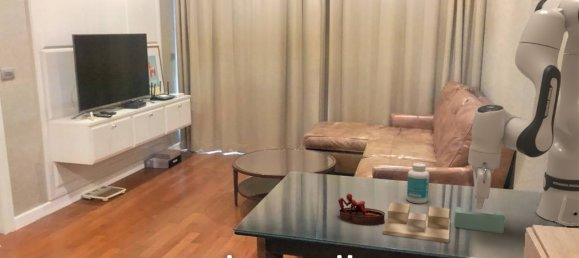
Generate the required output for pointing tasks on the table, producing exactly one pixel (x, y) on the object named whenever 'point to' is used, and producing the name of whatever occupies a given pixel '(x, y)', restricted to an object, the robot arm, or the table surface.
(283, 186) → the table surface
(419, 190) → the pill bottle
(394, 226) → the display stand
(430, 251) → the table surface
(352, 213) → the figurine
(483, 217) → the teal c-shaped bracket
